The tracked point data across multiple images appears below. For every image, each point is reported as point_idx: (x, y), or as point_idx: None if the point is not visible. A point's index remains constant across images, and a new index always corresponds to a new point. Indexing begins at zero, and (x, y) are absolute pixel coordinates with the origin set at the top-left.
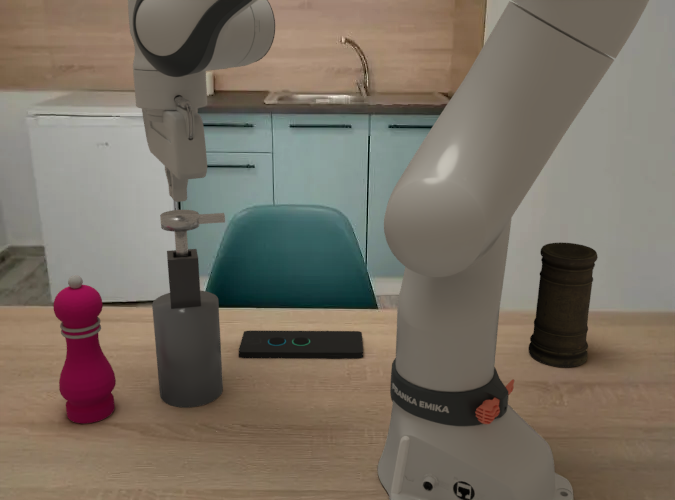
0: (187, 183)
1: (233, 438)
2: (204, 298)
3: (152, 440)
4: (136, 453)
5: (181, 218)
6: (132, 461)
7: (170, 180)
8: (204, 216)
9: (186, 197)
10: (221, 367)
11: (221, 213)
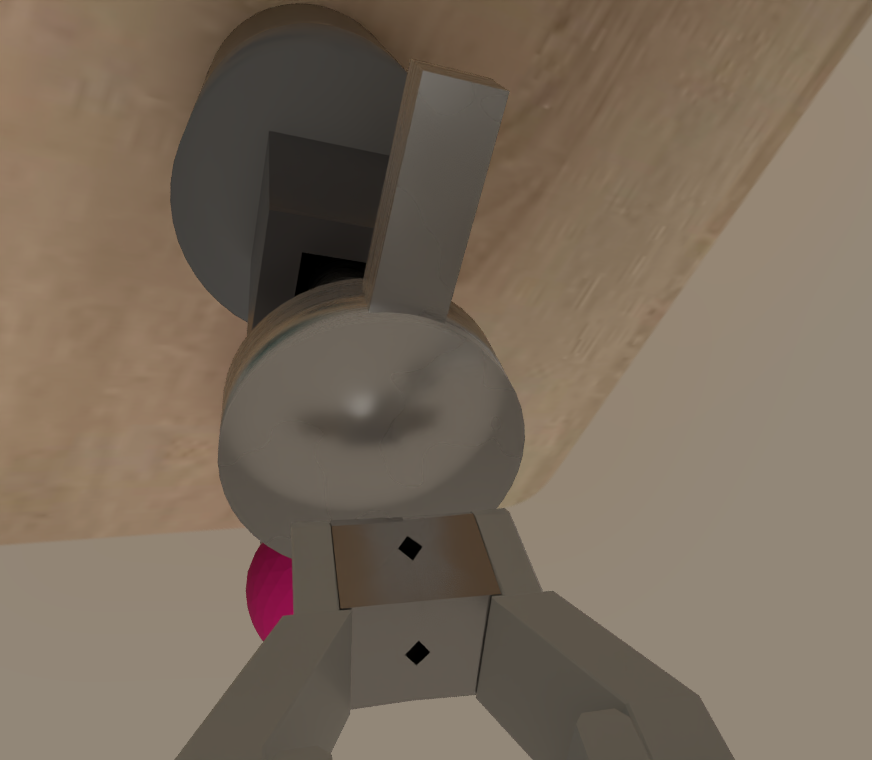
0: (601, 627)
1: (600, 75)
2: (319, 117)
3: (502, 263)
4: (533, 302)
5: (491, 460)
6: (556, 313)
7: (329, 741)
8: (455, 275)
9: (509, 522)
10: (352, 24)
11: (433, 101)
